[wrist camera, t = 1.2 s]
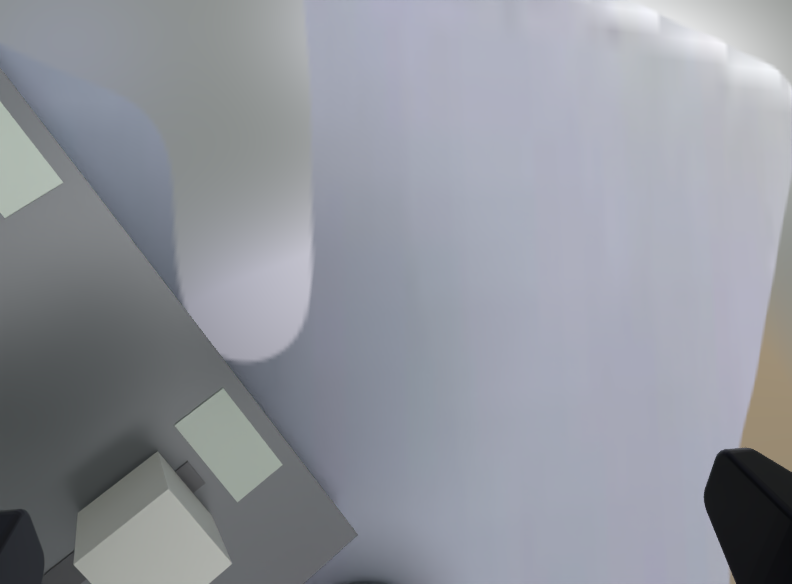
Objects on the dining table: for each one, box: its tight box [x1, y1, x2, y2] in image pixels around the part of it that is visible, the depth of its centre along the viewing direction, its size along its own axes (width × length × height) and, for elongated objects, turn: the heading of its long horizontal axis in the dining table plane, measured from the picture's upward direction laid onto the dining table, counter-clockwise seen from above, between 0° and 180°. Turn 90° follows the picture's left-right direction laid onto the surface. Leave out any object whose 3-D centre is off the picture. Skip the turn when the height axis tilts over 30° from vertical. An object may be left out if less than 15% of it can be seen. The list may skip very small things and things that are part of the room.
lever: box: [73, 451, 232, 584], centre depth 21 cm, size 3×3×4 cm
